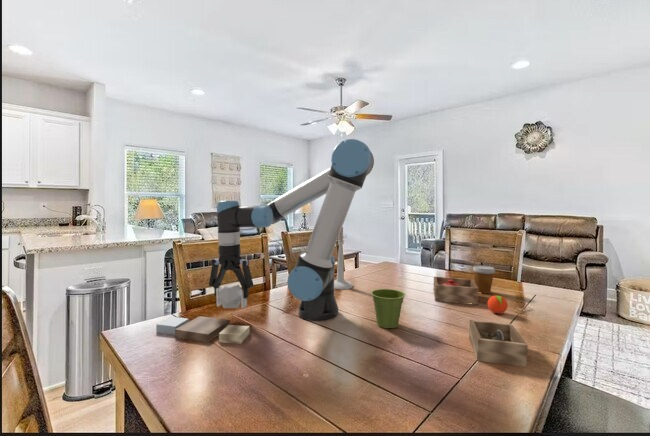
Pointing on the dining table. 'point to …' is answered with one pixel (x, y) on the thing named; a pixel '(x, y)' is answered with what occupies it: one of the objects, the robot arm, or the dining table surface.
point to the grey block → (170, 325)
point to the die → (230, 296)
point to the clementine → (497, 304)
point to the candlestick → (341, 268)
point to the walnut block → (202, 329)
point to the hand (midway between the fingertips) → (231, 306)
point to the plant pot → (387, 306)
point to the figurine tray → (498, 344)
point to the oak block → (234, 334)
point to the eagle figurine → (499, 333)
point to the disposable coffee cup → (483, 277)
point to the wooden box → (455, 290)
